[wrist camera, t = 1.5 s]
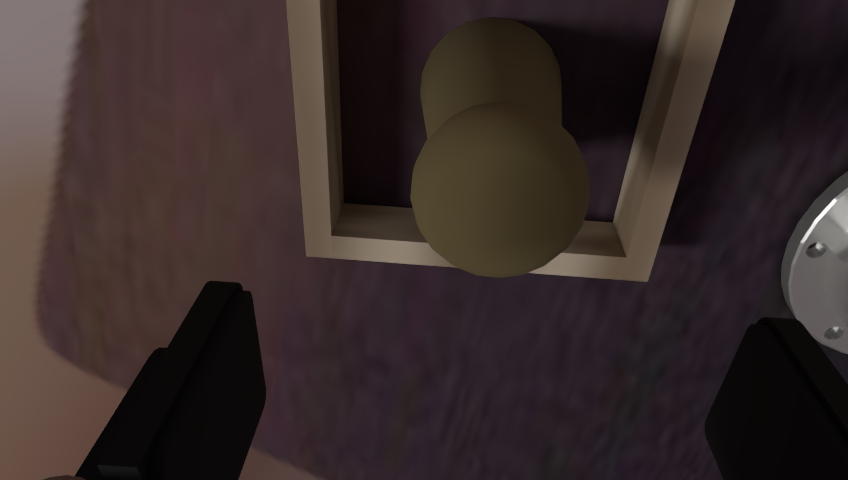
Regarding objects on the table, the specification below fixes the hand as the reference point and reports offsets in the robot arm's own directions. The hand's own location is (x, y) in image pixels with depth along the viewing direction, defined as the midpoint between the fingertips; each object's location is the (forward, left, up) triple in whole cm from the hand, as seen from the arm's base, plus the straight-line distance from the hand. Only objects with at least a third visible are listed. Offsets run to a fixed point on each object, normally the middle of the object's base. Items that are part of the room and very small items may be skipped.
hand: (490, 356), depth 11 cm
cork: (0, 0, -17) cm, 17 cm away
